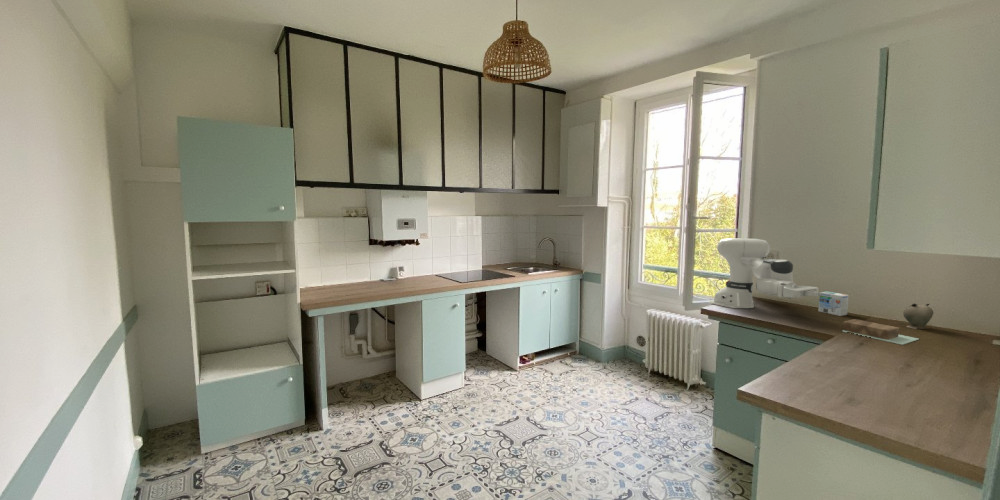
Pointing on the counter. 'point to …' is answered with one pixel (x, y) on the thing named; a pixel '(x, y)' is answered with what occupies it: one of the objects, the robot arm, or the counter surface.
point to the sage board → (898, 340)
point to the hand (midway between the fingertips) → (818, 294)
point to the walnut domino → (871, 329)
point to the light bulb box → (833, 303)
